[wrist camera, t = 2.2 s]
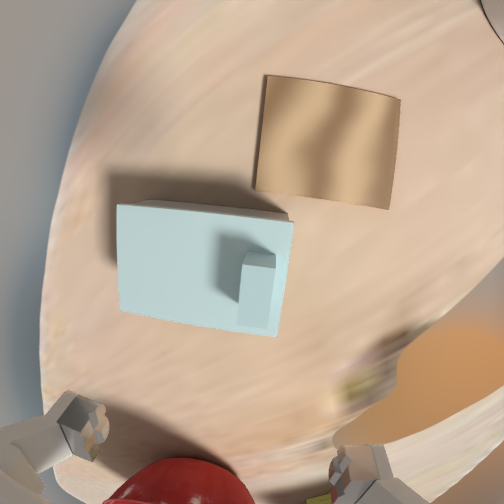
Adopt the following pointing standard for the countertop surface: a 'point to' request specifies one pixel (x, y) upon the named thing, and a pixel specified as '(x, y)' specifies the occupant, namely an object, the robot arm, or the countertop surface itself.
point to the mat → (328, 142)
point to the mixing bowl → (182, 485)
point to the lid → (203, 267)
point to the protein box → (320, 499)
